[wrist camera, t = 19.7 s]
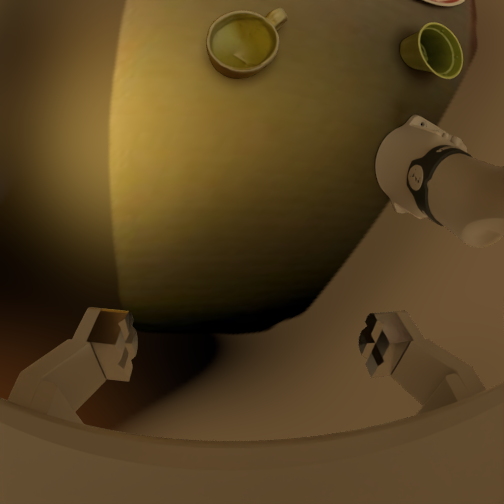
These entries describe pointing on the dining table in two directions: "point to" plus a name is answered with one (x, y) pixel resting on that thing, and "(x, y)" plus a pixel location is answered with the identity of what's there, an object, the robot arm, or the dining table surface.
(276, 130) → the dining table surface
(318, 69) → the dining table surface
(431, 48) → the plant pot
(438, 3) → the dinner plate
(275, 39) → the mug
